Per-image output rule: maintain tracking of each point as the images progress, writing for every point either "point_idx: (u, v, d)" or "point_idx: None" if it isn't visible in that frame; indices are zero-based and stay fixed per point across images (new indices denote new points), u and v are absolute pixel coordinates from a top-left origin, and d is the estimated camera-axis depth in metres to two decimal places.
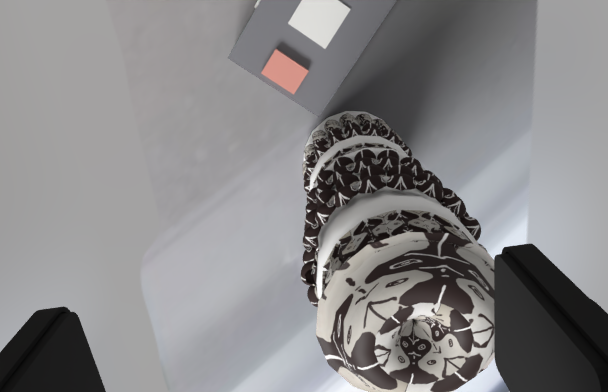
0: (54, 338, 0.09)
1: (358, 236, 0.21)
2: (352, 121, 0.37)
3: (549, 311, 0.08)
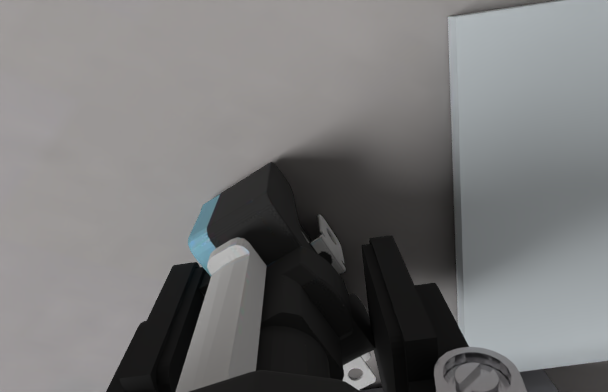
0: (197, 287, 0.10)
1: None
2: None
3: (378, 292, 0.09)
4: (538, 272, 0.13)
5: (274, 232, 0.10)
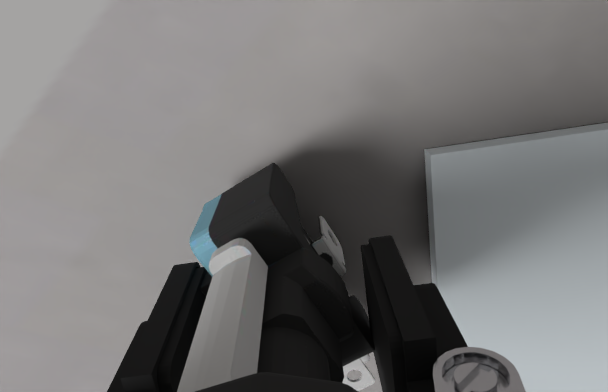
0: (198, 287, 0.10)
1: None
2: None
3: (377, 292, 0.09)
4: (507, 357, 0.15)
5: (276, 233, 0.10)
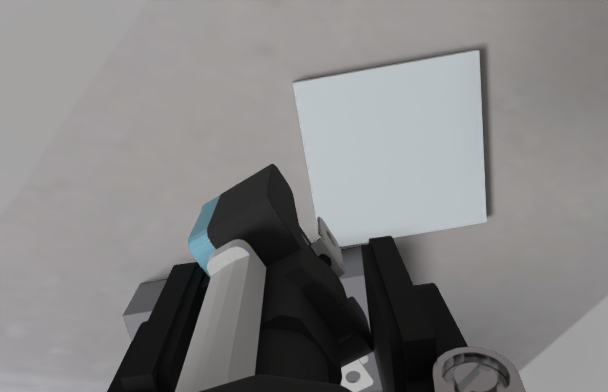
0: (198, 287, 0.10)
1: None
2: None
3: (377, 292, 0.09)
4: (347, 194, 0.28)
5: (274, 234, 0.10)
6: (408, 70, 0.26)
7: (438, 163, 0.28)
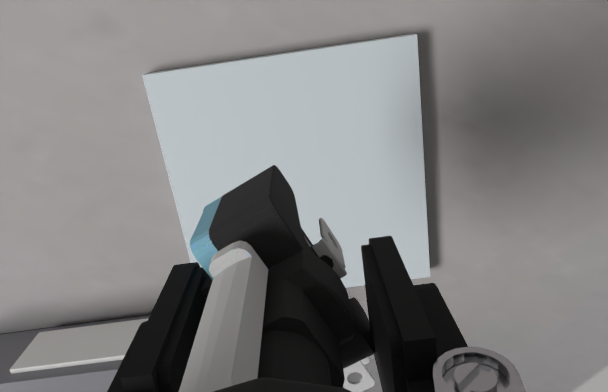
0: (198, 287, 0.10)
1: None
2: None
3: (377, 292, 0.09)
4: None
5: (276, 235, 0.10)
6: (313, 61, 0.17)
7: (360, 195, 0.19)
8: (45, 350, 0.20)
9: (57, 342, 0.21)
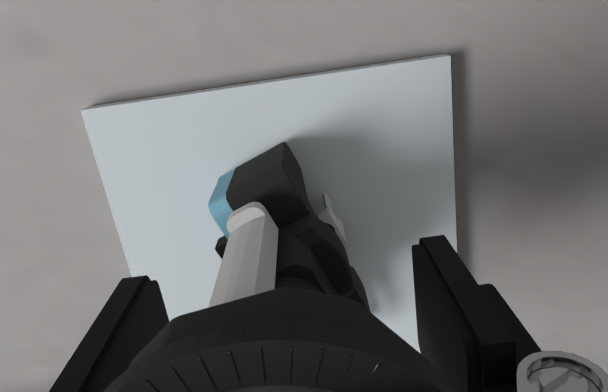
0: (144, 302, 0.10)
1: None
2: None
3: (440, 293, 0.09)
4: None
5: (286, 200, 0.11)
6: (310, 91, 0.13)
7: (372, 262, 0.15)
8: None
9: None
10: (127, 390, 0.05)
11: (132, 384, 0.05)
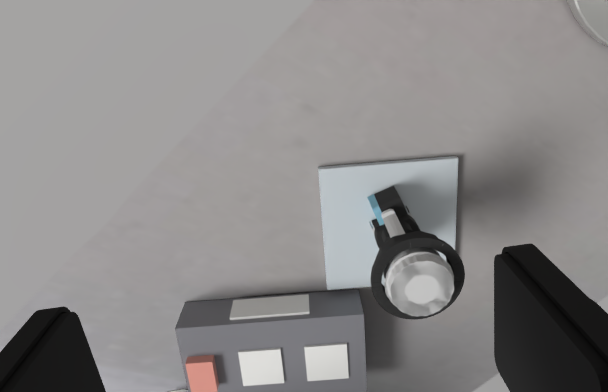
0: (54, 338, 0.09)
1: None
2: None
3: (549, 311, 0.08)
4: (350, 251, 0.37)
5: (400, 208, 0.33)
6: (405, 167, 0.35)
7: None
8: (244, 309, 0.37)
9: (248, 305, 0.38)
10: (394, 246, 0.27)
11: (395, 245, 0.27)
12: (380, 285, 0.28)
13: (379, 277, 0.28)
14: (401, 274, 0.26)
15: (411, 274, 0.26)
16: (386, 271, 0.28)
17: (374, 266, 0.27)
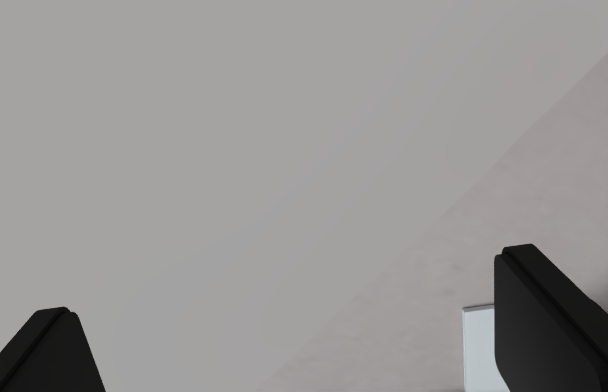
0: (54, 338, 0.09)
1: None
2: None
3: (549, 311, 0.08)
4: (487, 369, 0.46)
5: None
6: None
7: None
8: None
9: None
10: None
11: None
12: None
13: None
14: None
15: None
16: None
17: None
